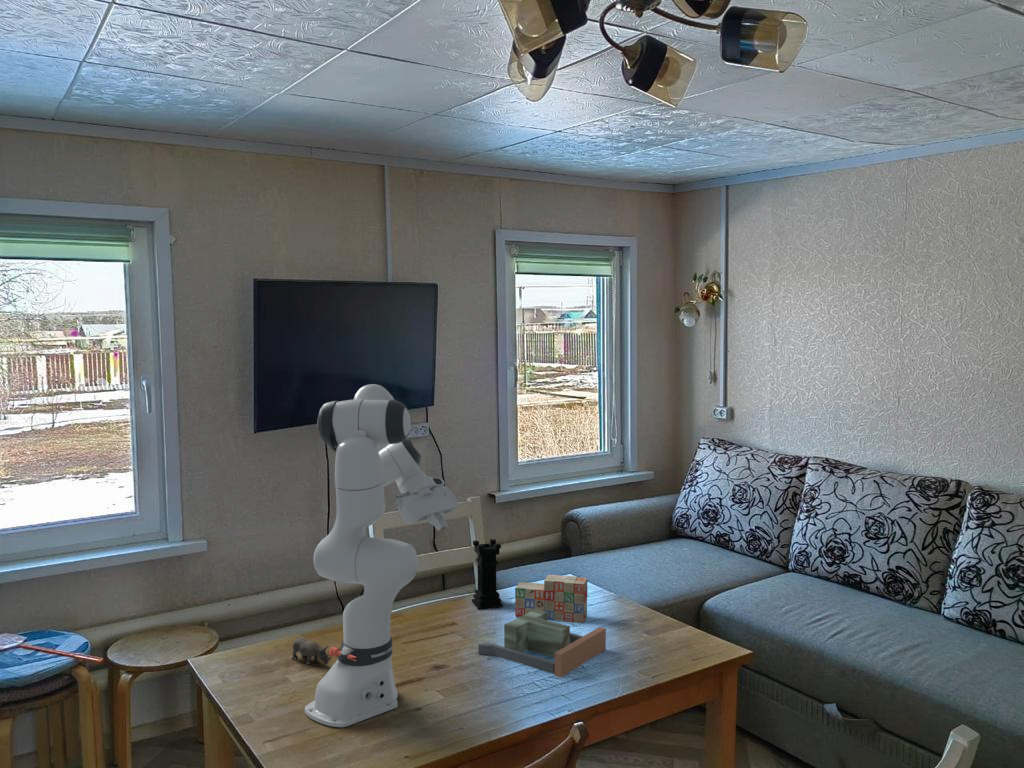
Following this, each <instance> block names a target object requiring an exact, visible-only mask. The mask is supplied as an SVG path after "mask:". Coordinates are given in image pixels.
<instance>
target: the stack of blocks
mask: <svg viewBox="0 0 1024 768" xmlns="http://www.w3.org/2000/svg"><path fill="white" fill-rule="evenodd" d="M543 581H544V582H543V583H538V582H526V581H519V582H518V584H517V585H516V586H515V588H514V590H515V591H514V598H515V602H514V607H515V613H514V614H515V617H517V618H519V617H521V616H523V615H525V614H527V613H529V612H531V611H533V610H535V609H538V610H542V611H546V612H548V621H554V622H555V621H556V622H557V621H558V622H564V623H565V622H566V623H576V624H584V623H585V621H586V619H587V617H588V577H578V576H576V575H575V576H572V575H558V574H547V575H546V578H545V579H544V580H543Z"/></svg>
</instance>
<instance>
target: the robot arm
mask: <svg viewBox="0 0 1024 768" xmlns="http://www.w3.org/2000/svg"><path fill="white" fill-rule="evenodd" d="M317 415H318V416H317V421H316V423H317V424H316V425H317V429H318V434H319V436H320V438H321V440H322V441H323V442H324V443H325V444H326V445H327V446H328V447H330V449H331V451H333V452H335V458H334V459H335V461H334V484H335V496H336V500H335V502H336V517H335V521H334V524H333V527H332V529H331V531H330V532H329V533H328V534H327V535H326V536H325V537H324V538H322V539H321V540H320V542H319V543H318V544H317V546H316V547H315V549H314V553H313V559H312V561H313V566H314V570H315V571H316V573H317V574H318V576H320V577H322V578H324V579H327V580H330V581H333V582H336V583H346V584H348V583H349V584H359V585H363V595H360V596H358V597H356V598H354V599H353V600H351V601H350V602H348V603H347V605H345V607H344V610H343V612H342V624H343V625H342V626H343V627H342V629H343V631H342V633H343V634H342V635H343V640H342V641H341V644H340V647H339V648H338V647H335V646H331V647H329V650H328V653H329V656H330V657H332V656H333V657H334V658H337V660H336V661H335V662H334V664H333V665H332V666H331V667H330V668H329V670H328V671H327V672H325V675H323V677H322V678H321V679H320V681H319V682H318V683H317V685H316V689H315V693H314V695H315V696H314V700H313V701H311V702H310V703H307V705H305V707H304V714H305V715H306V716H307V717H308V718H310V719H311V720H313V721H314V722H317V723H320V724H322V725H325V726H329V727H334V728H345V727H349V726H351V725H354V724H357V723H359V722H361V721H362V722H363V721H364V720H367V719H370V718H372V717H376V716H377V715H381V714H384V713H385V712H389V711H391V710H394V709H397V708H398V706H399V704H398V697H399V693H398V689H397V686H396V682H395V678H394V671H393V663H392V655H393V638H392V636H391V615H392V607H393V604H394V601H395V599H396V597H397V595H398V593H399V592H400V591H401V590H402V589H403V588H404V587H406V586H407V585H408V584H409V583H410V582H411V581H413V580H414V578H415V576H416V574H417V572H418V569H419V557H418V554H417V551H416V548H415V547H414V546H413V545H412V544H410V543H407V542H404V541H402V540H397V539H394V538H385V537H370V536H367V532H366V529H367V528H368V527H370V526H372V525H375V523H377V522H379V521H380V520H381V519H382V517H383V516H384V513H385V510H386V499H385V498H386V497H385V488H386V487H387V486H389V485H390V484H393V482H394V483H396V486H397V488H398V491H399V493H400V494H396V495H395V497H394V501H393V502H394V503H395V505H396V507H397V510H398V512H399V514H400V516H401V518H402V520H403V522H404V523H405V524H406V525H413V524H416V523H420V522H423V521H427V523H429V524H431V525H432V526H433V527H434V528H435V529H436V530H437V531H441V530H444V529H446V528H447V527H448V523H447V521H446V517H445V516H446V515H449V514H452V513H453V512H455V511H456V509H457V508H458V507H459V502H458V500H457V498H456V496H455V495H454V494H453V492H452V490H451V489H450V488H448V487H447V486H446V485H445V480H444V479H443V478H441V477H440V478H439V477H432V476H429V475H427V474H426V473H425V472H424V471H423V470H421V468H420V467H419V466H420V463H421V457H422V456H421V454H420V453H419V451H418V450H417V449H416V447H414V444H413V442H412V441H411V440H410V439H408V435H409V432H410V428H411V424H412V423H411V422H412V421H411V416H410V412H409V409H408V408H407V405H405V404H404V403H403V402H401V401H399V400H397V399H395V398H394V397H393V395H392V394H391V393H390V392H389V391H388V390H387V388H385V387H384V386H382V385H380V384H375V383H372V384H371V383H370V384H366V385H363V386H362V387H360V388H358V390H357V392H356V393H355V394H354V397H353V399H347V400H341V401H339V400H332V401H328V402H326V403H325V402H324V404H323V405H322V406H321V407H320V409H319V412H318V414H317Z"/></svg>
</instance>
